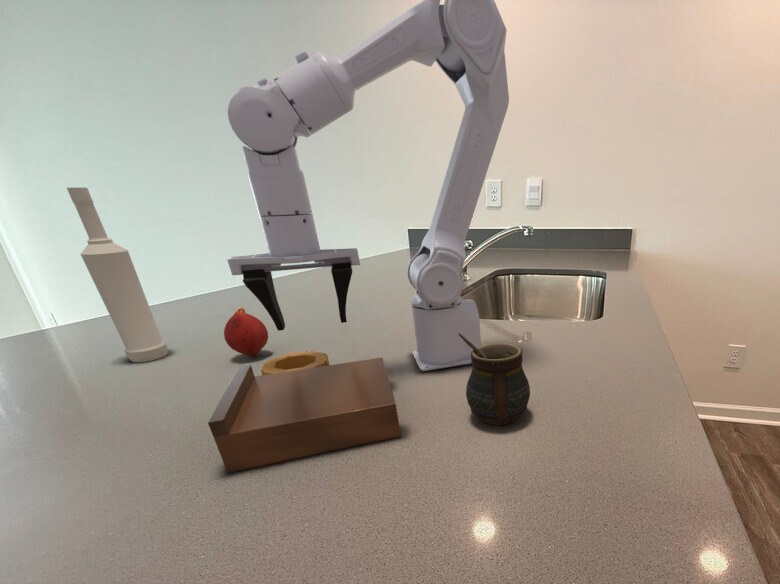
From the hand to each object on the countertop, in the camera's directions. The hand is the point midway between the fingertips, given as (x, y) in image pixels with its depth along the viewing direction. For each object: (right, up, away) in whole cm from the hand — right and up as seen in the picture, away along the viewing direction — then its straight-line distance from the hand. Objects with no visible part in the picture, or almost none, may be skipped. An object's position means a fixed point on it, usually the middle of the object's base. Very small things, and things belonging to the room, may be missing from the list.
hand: (313, 324), depth 54 cm
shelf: (+5, -12, -8) cm, 15 cm away
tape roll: (-3, -8, +2) cm, 8 cm away
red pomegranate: (-15, -4, +11) cm, 19 cm away
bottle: (-33, -4, +12) cm, 35 cm away
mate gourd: (+25, -12, -8) cm, 29 cm away
